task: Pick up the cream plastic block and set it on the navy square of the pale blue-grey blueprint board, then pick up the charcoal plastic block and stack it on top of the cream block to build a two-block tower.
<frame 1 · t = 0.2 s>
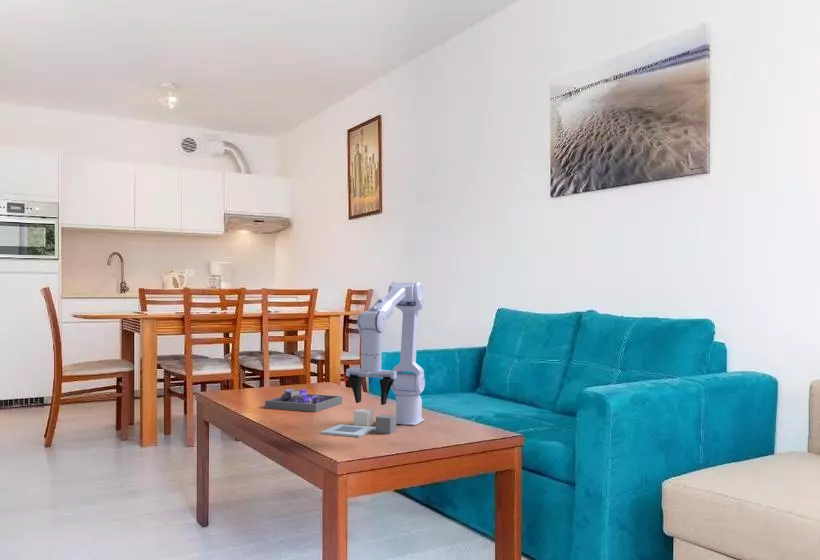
hand: (370, 403, 182), 10 cm above the table, tool pointing down, fingers open, 7 cm apart
cream block: (363, 425, 201), on the table
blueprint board: (349, 431, 192), on the table
toy race car: (305, 407, 236), resting in car parking frame
car parking frame: (304, 405, 235), on the table
charcoal block: (385, 432, 192), on the table
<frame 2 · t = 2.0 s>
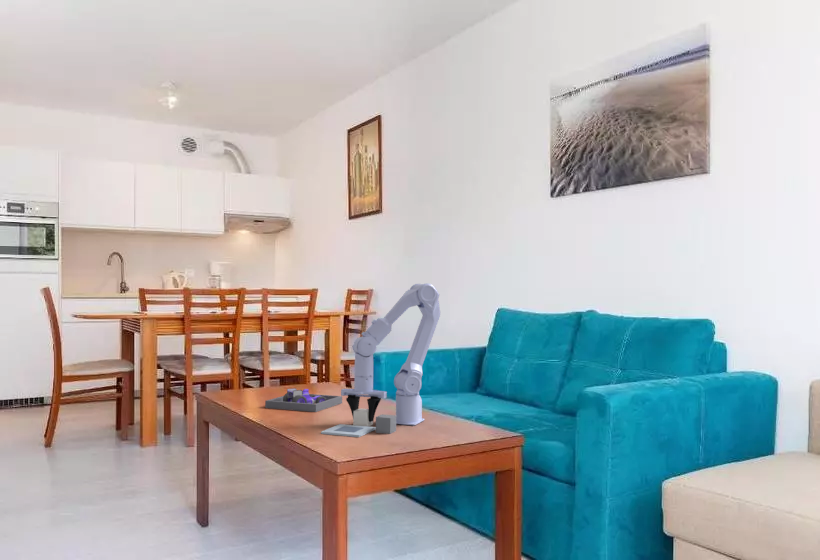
hand: (363, 420, 201), 1 cm above the table, tool pointing down, fingers closed on cream block, 5 cm apart
cream block: (363, 425, 201), on the table, touching gripper
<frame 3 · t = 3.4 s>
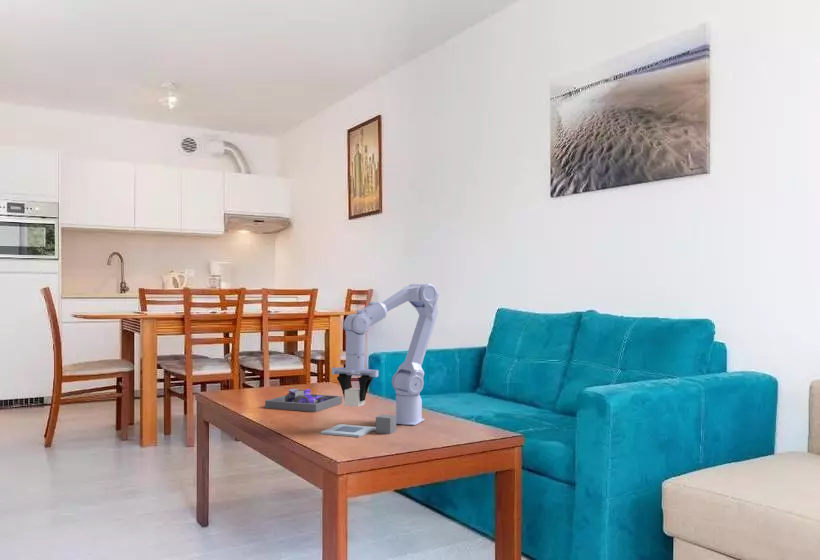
hand: (354, 400, 196), 9 cm above the table, tool pointing down, fingers closed on cream block, 5 cm apart
cream block: (354, 404, 196), point 7 cm above the table, touching gripper
toy race car: (309, 407, 236), resting in car parking frame
everything else where it was.
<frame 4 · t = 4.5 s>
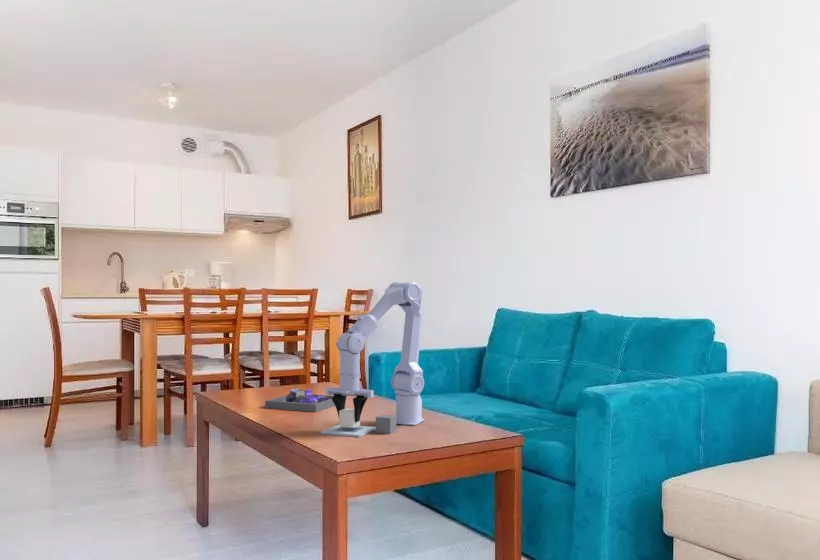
hand: (349, 420, 192), 3 cm above the table, tool pointing down, fingers closed on cream block, 4 cm apart
cream block: (349, 425, 192), point 2 cm above the table, touching gripper
toy race car: (310, 407, 235), resting in car parking frame
everything else where it was.
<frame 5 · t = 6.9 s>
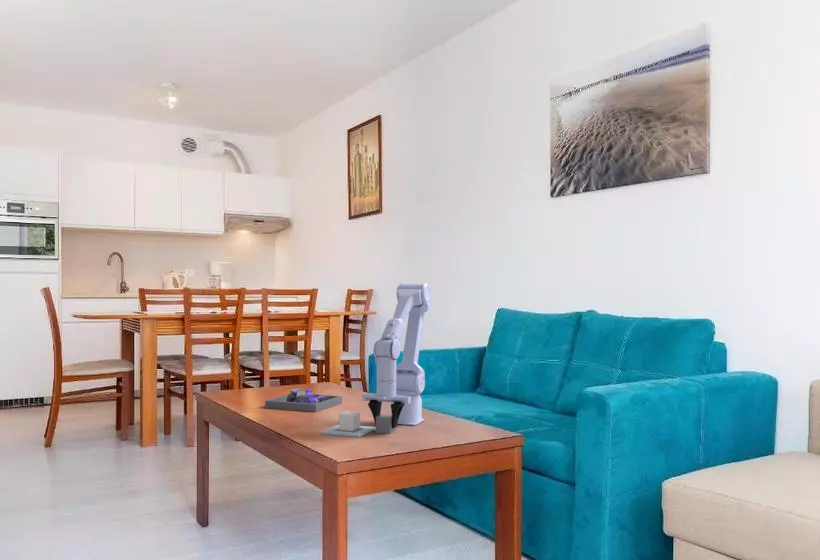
hand: (386, 426, 192), 1 cm above the table, tool pointing down, fingers closed on charcoal block, 5 cm apart
cream block: (349, 428, 192), point 1 cm above the table, touching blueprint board
charcoal block: (385, 432, 192), on the table, touching gripper
everything else where it was.
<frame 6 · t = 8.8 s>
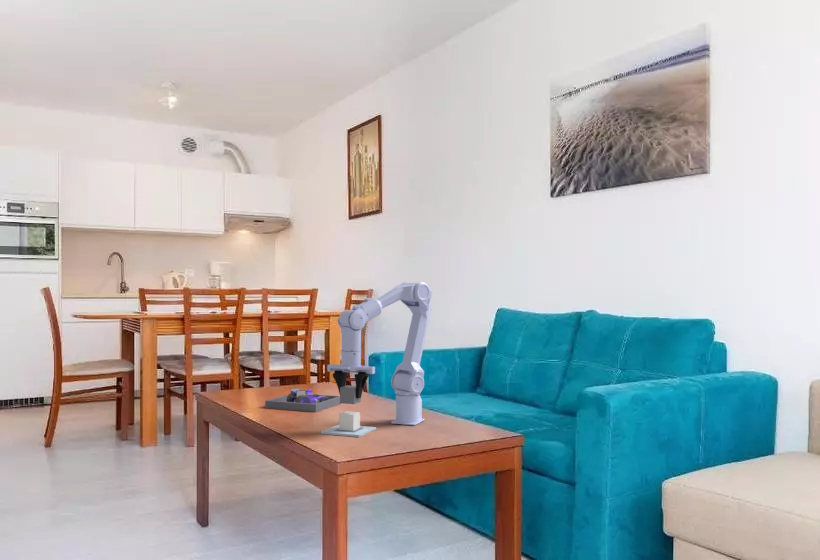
hand: (350, 397, 192), 10 cm above the table, tool pointing down, fingers closed on charcoal block, 5 cm apart
charcoal block: (350, 402, 192), point 8 cm above the table, touching gripper
everything else where it was.
when the fingers open (8 cm above the table, at t = 9.7 s): charcoal block stays where it is, resting on cream block.
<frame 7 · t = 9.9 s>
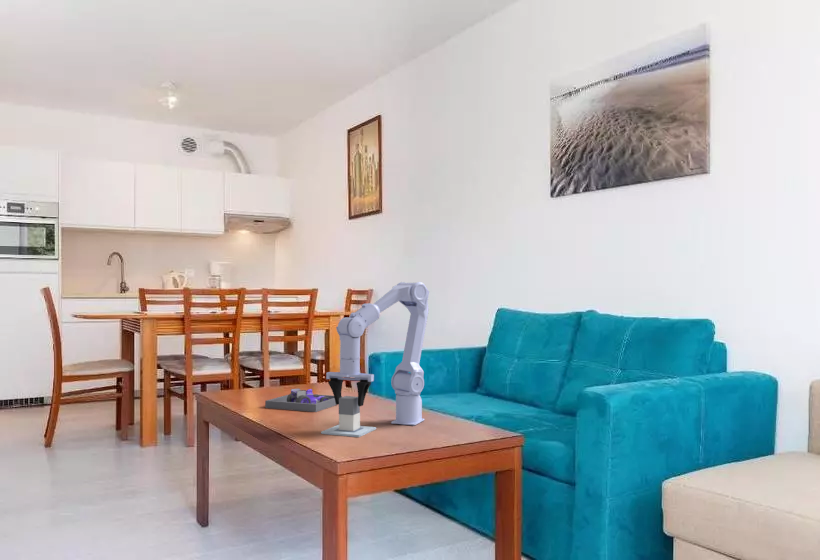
hand: (349, 404, 192), 8 cm above the table, tool pointing down, fingers open, 7 cm apart
cream block: (349, 428, 192), point 1 cm above the table, touching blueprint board, charcoal block
charcoal block: (349, 413, 192), point 5 cm above the table, touching cream block
everything else where it was.
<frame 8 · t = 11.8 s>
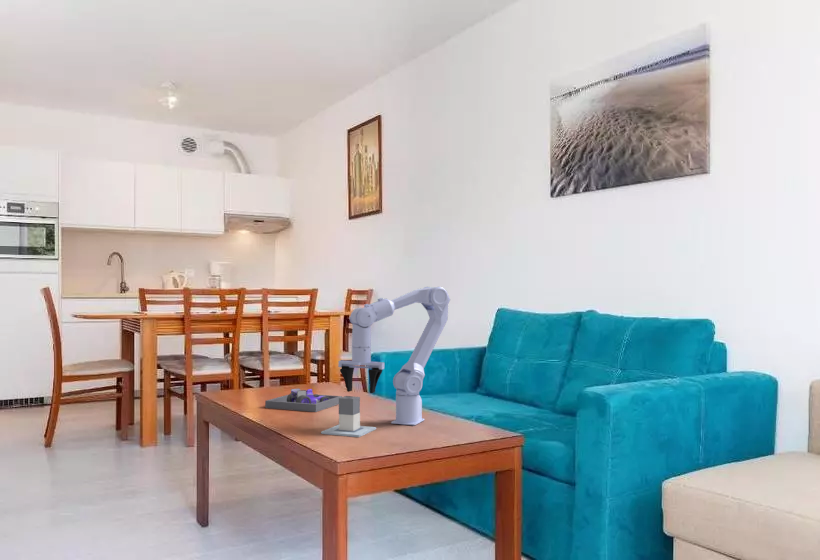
hand: (360, 392, 199), 10 cm above the table, tool pointing down, fingers open, 7 cm apart
nothing on the table moved.
at the end: cream block 0.2 cm off-centre on the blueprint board, point 0.7 cm above the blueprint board's base; charcoal block 0.3 cm off-centre on the cream block, point 4.6 cm above the cream block's base; charcoal block tilted 0° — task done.
